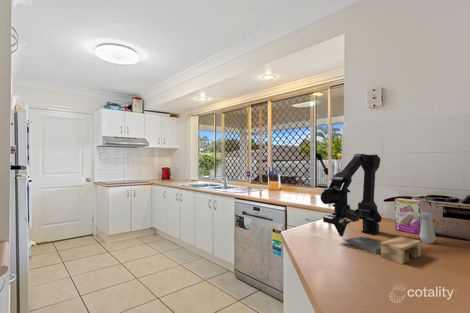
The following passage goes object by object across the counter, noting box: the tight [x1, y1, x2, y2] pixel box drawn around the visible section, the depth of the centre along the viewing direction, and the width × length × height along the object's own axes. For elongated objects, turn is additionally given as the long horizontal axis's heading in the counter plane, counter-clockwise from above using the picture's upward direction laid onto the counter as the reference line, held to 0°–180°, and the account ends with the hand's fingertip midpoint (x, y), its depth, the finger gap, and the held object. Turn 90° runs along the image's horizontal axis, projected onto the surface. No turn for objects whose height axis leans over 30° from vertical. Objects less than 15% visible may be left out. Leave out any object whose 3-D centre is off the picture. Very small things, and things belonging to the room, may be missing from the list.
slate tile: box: [348, 236, 381, 255], centre depth 103 cm, size 14×7×2 cm, turn 18°
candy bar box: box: [394, 197, 424, 236], centre depth 125 cm, size 11×5×16 cm, turn 34°
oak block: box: [380, 235, 421, 265], centre depth 92 cm, size 7×15×6 cm, turn 122°
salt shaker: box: [418, 211, 437, 245], centre depth 109 cm, size 6×6×13 cm
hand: (341, 236), depth 113 cm, fingers closed
